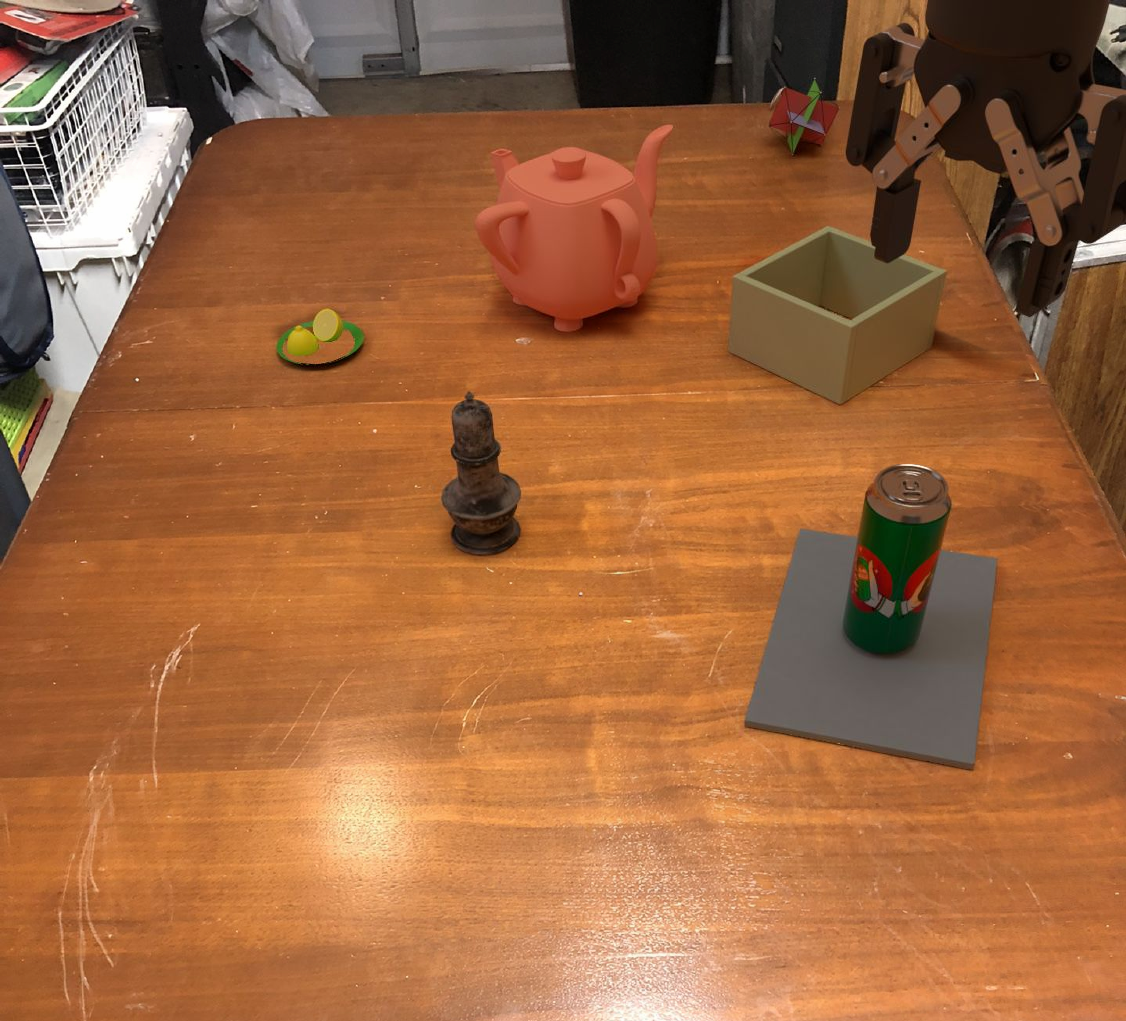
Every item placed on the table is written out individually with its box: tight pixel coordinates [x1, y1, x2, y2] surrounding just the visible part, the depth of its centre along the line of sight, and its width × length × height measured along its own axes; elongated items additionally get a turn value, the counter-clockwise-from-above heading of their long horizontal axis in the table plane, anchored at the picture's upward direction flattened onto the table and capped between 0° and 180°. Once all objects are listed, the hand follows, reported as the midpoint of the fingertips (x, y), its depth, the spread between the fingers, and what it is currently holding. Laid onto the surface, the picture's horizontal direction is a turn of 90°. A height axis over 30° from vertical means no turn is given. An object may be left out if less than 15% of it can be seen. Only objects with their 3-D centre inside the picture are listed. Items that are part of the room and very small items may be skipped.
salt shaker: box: [440, 390, 522, 556], centre depth 84 cm, size 6×6×12 cm
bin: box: [727, 225, 948, 406], centre depth 101 cm, size 13×13×7 cm
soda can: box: [843, 463, 953, 655], centre depth 74 cm, size 5×5×12 cm
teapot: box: [475, 124, 674, 333], centre depth 107 cm, size 16×17×14 cm
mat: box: [743, 528, 999, 771], centre depth 79 cm, size 20×14×1 cm
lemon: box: [276, 308, 365, 366], centre depth 107 cm, size 8×8×3 cm
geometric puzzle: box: [767, 77, 841, 156], centre depth 130 cm, size 7×7×8 cm
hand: (958, 282), depth 60 cm, fingers open, 8 cm apart
